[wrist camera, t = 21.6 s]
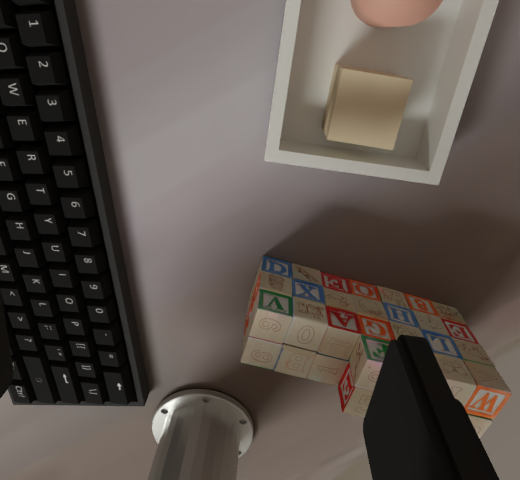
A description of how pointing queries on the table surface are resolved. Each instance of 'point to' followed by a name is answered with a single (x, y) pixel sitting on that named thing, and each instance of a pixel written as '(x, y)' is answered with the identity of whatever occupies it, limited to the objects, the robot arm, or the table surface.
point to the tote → (379, 59)
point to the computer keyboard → (59, 222)
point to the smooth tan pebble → (393, 11)
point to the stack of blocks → (360, 337)
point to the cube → (365, 106)
